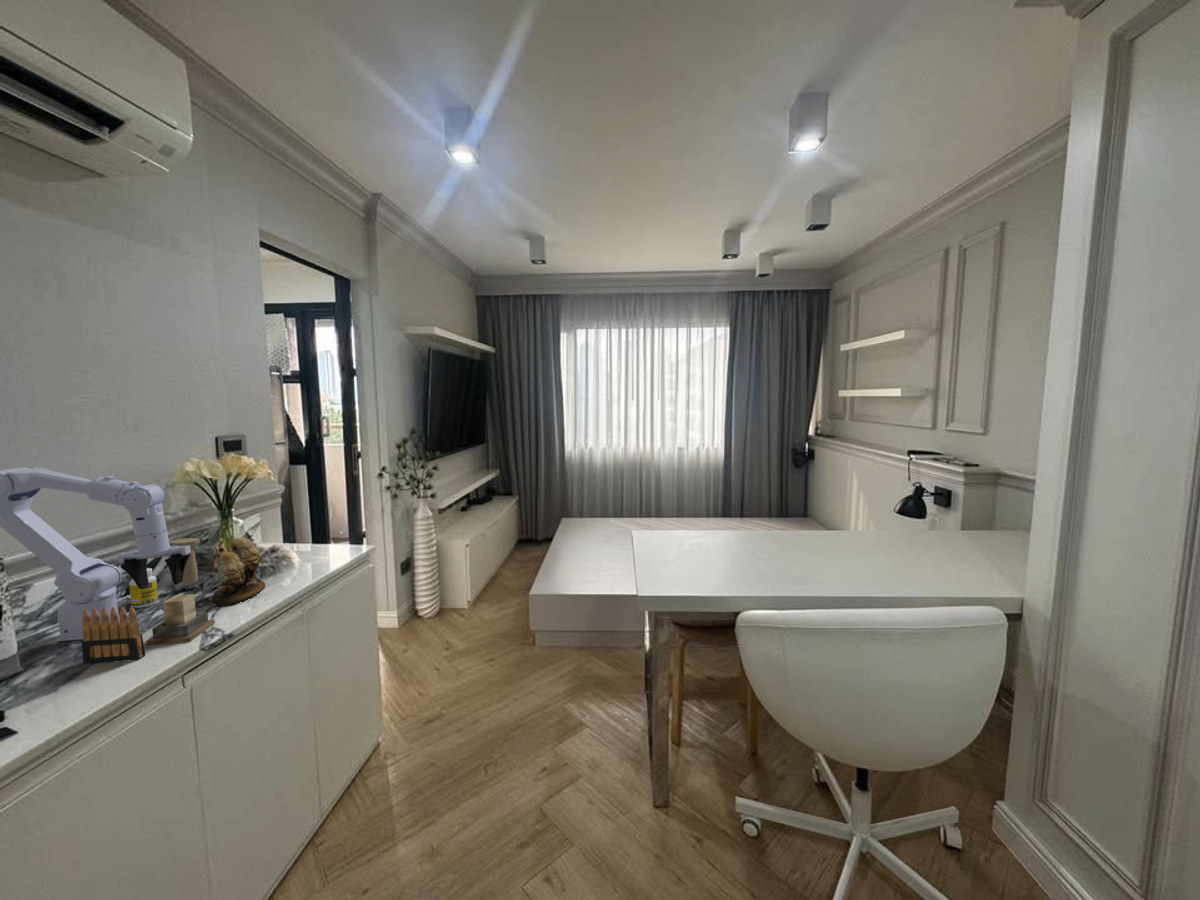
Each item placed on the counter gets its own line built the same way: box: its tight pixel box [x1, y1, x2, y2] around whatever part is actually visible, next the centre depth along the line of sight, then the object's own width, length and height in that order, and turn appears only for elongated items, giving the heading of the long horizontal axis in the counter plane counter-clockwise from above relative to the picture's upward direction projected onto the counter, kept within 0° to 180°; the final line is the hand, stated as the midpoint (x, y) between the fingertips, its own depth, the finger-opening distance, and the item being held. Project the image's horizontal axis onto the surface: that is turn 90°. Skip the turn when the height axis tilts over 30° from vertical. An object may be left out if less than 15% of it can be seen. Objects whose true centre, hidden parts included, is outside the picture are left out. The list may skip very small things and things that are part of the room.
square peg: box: [162, 593, 197, 626], centre depth 111 cm, size 4×4×8 cm
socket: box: [145, 611, 216, 646], centre depth 111 cm, size 9×9×4 cm
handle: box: [171, 537, 201, 586], centre depth 138 cm, size 5×6×15 cm
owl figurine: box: [210, 537, 266, 607], centre depth 134 cm, size 18×12×17 cm, turn 22°
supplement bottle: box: [128, 567, 159, 609], centre depth 128 cm, size 5×5×10 cm
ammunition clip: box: [81, 605, 146, 665], centre depth 100 cm, size 11×2×12 cm, turn 98°
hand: (161, 585), depth 115 cm, fingers open, 7 cm apart
